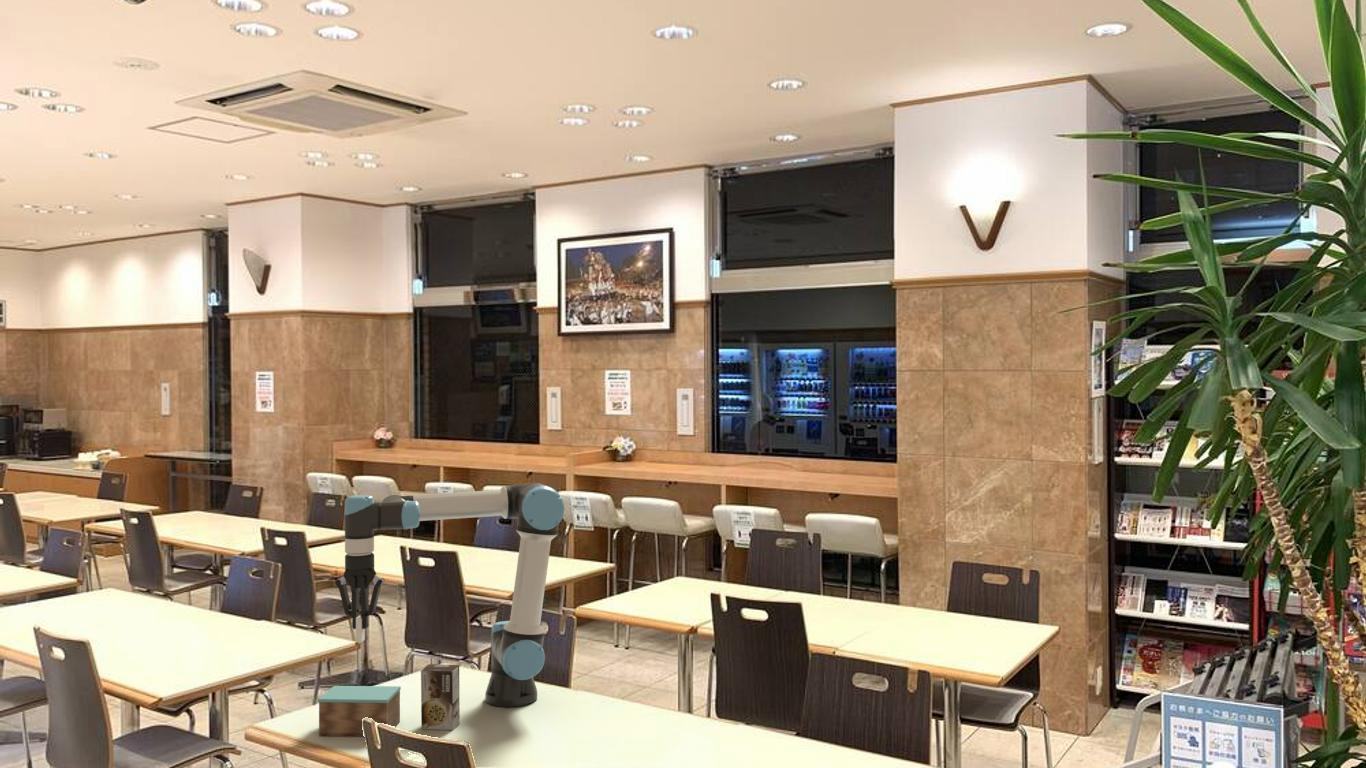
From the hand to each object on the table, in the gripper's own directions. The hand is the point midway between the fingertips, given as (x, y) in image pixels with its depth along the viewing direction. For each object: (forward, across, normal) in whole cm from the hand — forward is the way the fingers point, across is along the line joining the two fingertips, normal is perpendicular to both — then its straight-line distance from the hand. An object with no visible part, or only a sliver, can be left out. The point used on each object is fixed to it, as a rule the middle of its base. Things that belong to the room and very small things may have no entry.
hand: (360, 640), depth 282 cm
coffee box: (+25, -20, -4) cm, 32 cm away
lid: (+15, 0, -1) cm, 15 cm away
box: (+24, 0, -1) cm, 24 cm away
